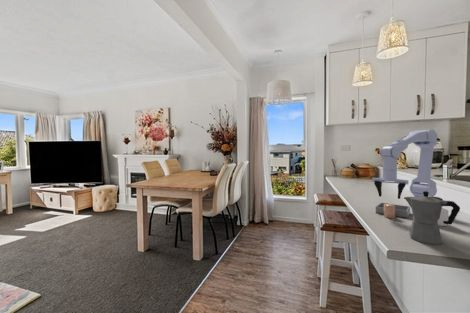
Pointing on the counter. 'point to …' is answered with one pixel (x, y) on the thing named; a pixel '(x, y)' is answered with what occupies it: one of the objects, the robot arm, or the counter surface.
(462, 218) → the counter surface
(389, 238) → the counter surface
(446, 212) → the pale grey tall block
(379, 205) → the bin
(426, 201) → the coffeepot
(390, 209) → the peach rounded cylinder
